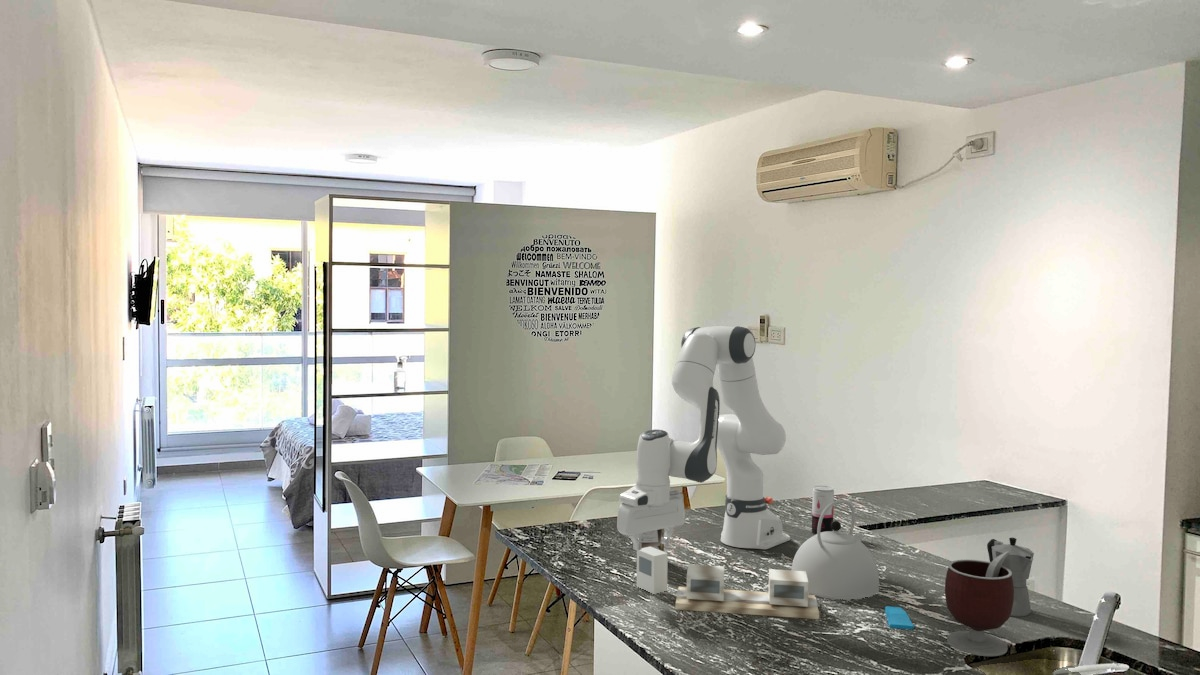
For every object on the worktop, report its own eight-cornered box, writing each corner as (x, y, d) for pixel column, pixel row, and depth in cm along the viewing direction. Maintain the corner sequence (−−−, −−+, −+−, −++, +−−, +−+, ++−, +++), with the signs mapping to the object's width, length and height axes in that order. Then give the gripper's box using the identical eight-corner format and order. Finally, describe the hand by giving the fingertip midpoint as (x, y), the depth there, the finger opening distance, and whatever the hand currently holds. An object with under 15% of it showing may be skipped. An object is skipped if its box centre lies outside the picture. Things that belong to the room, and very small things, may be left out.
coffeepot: (1045, 618, 207) (1049, 544, 206) (1011, 621, 205) (1014, 546, 204) (1002, 595, 222) (1005, 526, 221) (970, 598, 220) (972, 528, 218)
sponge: (910, 608, 210) (885, 603, 212) (915, 627, 199) (889, 621, 200) (909, 614, 211) (884, 609, 212) (914, 633, 199) (888, 628, 200)
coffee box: (660, 569, 239) (661, 512, 238) (637, 567, 241) (638, 510, 240) (664, 559, 248) (665, 504, 247) (642, 557, 250) (643, 502, 249)
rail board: (675, 609, 210) (675, 576, 209) (678, 592, 222) (679, 561, 221) (819, 619, 205) (819, 585, 204) (814, 601, 216) (815, 569, 216)
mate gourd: (978, 662, 182) (982, 569, 181) (929, 637, 195) (932, 550, 193) (1031, 650, 188) (1035, 560, 187) (980, 627, 201) (983, 542, 200)
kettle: (824, 563, 247) (826, 485, 245) (899, 583, 230) (901, 500, 229) (773, 583, 229) (775, 499, 228) (850, 607, 213) (853, 517, 212)
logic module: (649, 583, 228) (650, 546, 227) (667, 591, 222) (667, 553, 222) (636, 587, 225) (636, 549, 225) (653, 594, 220) (654, 556, 219)
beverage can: (837, 535, 275) (838, 488, 274) (823, 538, 271) (824, 491, 270) (821, 530, 280) (822, 484, 279) (807, 533, 276) (808, 487, 276)
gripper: (675, 486, 231) (674, 537, 232) (614, 496, 219) (613, 549, 220) (691, 491, 226) (689, 543, 227) (629, 501, 214) (628, 556, 215)
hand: (651, 546), depth 223 cm, fingers open, 8 cm apart
